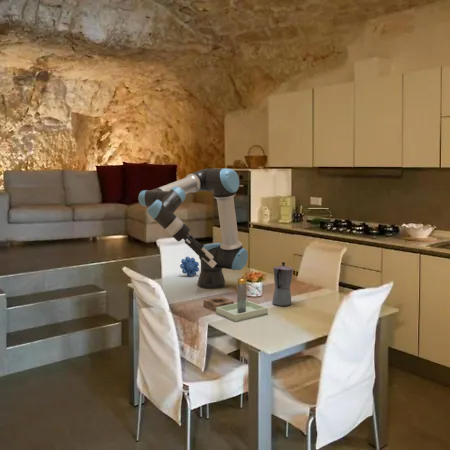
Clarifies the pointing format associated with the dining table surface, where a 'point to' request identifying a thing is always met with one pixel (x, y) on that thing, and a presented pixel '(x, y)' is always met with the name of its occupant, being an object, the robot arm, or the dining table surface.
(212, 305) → the socket block
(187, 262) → the grapes
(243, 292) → the grey bottle
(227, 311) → the tray
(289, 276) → the moka pot
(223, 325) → the dining table surface
